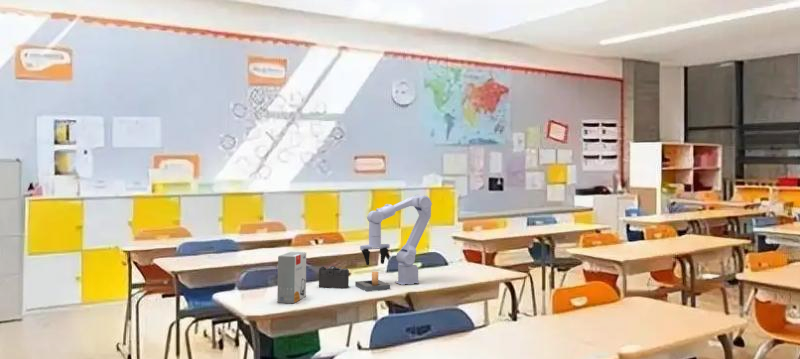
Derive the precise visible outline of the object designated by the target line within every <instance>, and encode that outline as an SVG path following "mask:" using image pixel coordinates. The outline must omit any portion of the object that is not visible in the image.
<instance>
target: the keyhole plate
mask: <svg viewBox="0 0 800 359" xmlns="http://www.w3.org/2000/svg"><path fill="white" fill-rule="evenodd" d="M354 283H355V284H354V285H355V287H356V288H359V289H361V290H362V291H364V290H365V292H373V291H372V290H378V291H387V289H390V290H391V284H390V283H387V282H384V281H383V280H381V279H378V285H374V286H373V285H372V279H371V280H360V281H355V282H354Z"/></svg>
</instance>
